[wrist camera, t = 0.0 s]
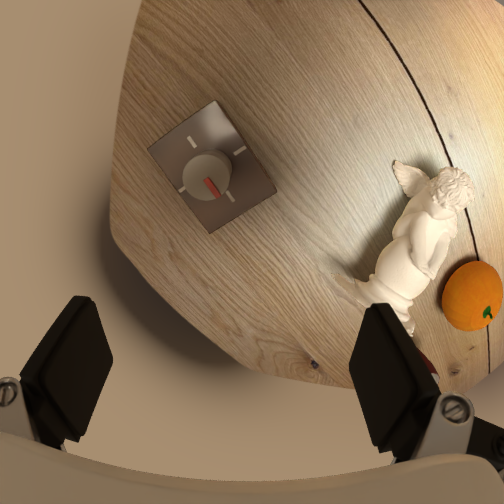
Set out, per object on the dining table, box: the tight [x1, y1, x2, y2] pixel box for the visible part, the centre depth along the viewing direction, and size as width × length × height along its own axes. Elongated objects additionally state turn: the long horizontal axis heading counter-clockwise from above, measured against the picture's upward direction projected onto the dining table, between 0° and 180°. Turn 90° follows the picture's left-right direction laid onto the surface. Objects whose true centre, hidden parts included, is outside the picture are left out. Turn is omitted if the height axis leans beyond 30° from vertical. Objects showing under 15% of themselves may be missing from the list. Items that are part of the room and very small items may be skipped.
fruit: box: [442, 261, 503, 331], centre depth 37 cm, size 12×12×10 cm
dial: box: [182, 149, 232, 201], centre depth 28 cm, size 4×4×5 cm
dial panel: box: [147, 100, 277, 234], centre depth 32 cm, size 12×9×3 cm
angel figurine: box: [331, 161, 475, 337], centre depth 31 cm, size 14×20×12 cm
